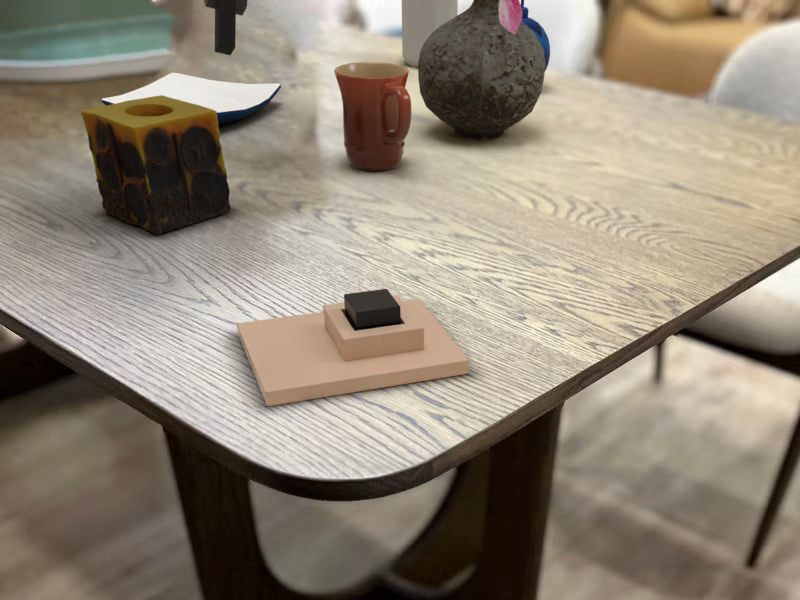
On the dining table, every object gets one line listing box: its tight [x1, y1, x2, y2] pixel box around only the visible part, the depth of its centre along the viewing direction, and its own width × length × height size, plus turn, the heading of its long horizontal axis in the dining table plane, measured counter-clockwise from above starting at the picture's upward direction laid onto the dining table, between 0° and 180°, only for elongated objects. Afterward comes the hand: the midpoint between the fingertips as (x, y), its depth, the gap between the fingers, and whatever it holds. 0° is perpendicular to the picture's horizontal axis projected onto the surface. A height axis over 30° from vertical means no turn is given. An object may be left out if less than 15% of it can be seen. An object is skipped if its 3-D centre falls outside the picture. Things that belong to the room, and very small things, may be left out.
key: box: [343, 288, 401, 331], centre depth 66 cm, size 4×4×2 cm
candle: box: [80, 95, 232, 235], centre depth 88 cm, size 10×10×10 cm
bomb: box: [520, 0, 551, 72], centre depth 132 cm, size 10×11×15 cm
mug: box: [333, 61, 412, 172], centre depth 101 cm, size 12×9×10 cm
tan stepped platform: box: [236, 294, 470, 407], centre depth 67 cm, size 16×12×3 cm
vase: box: [417, 0, 546, 140], centre depth 107 cm, size 17×18×30 cm
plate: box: [101, 72, 282, 125], centre depth 122 cm, size 20×20×3 cm
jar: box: [401, 0, 459, 68], centre depth 144 cm, size 10×10×18 cm
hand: (224, 49), depth 80 cm, fingers closed
